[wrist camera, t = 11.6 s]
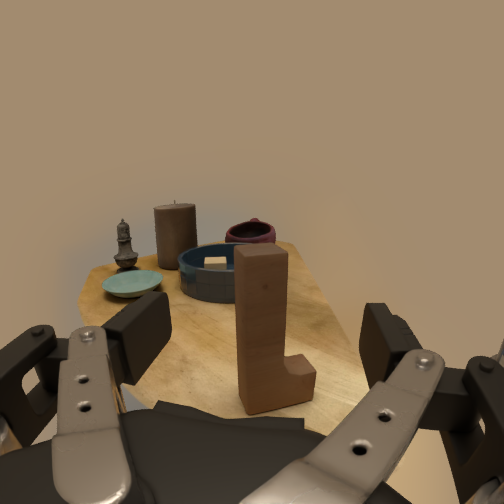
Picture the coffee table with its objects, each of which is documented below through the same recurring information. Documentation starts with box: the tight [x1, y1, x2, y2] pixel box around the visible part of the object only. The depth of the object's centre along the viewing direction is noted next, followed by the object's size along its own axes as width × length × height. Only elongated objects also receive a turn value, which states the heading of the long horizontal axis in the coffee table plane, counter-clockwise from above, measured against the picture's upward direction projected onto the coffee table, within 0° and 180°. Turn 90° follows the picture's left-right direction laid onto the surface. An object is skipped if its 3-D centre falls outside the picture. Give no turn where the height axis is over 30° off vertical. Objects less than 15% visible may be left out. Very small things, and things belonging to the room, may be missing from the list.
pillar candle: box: [154, 200, 198, 269], centre depth 67 cm, size 10×10×15 cm
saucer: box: [102, 270, 163, 298], centre depth 52 cm, size 12×12×2 cm
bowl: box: [225, 218, 276, 244], centre depth 77 cm, size 16×13×8 cm
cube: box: [204, 257, 227, 270], centre depth 56 cm, size 4×4×4 cm
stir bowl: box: [177, 243, 252, 303], centre depth 57 cm, size 20×20×6 cm
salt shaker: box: [114, 219, 139, 274], centre depth 62 cm, size 6×6×12 cm
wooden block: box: [234, 243, 316, 415], centre depth 24 cm, size 7×3×15 cm, turn 107°
